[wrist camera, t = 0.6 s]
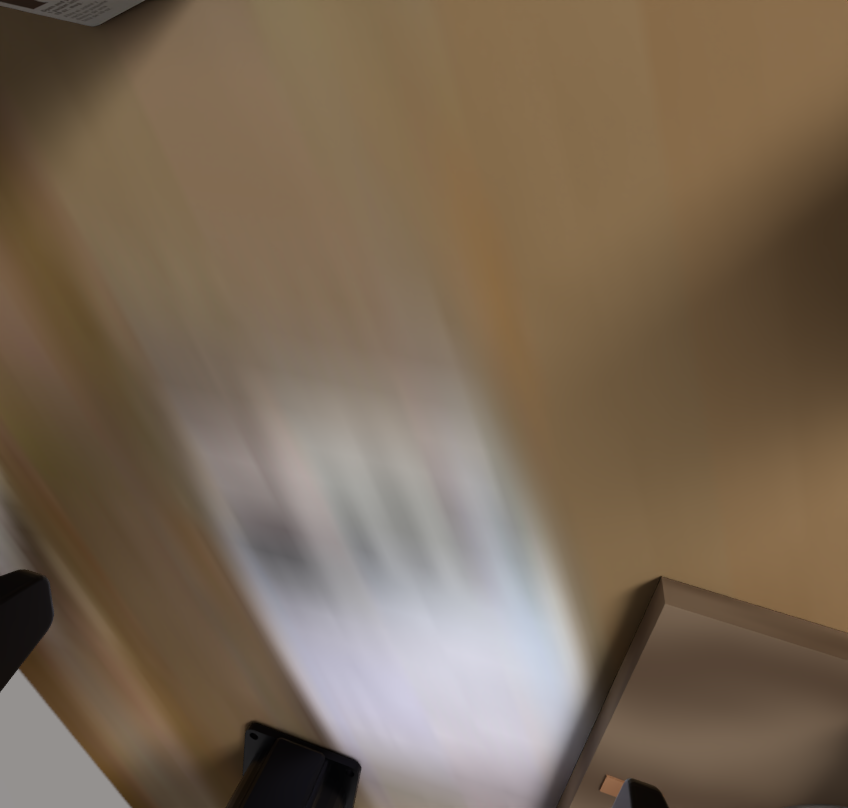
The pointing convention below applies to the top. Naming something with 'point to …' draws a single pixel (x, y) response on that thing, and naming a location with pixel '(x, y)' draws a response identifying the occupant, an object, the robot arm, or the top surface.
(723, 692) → the lock board
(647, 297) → the top surface
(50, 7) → the coffee box
